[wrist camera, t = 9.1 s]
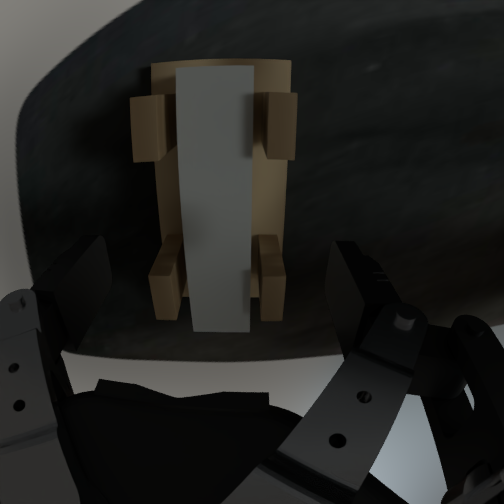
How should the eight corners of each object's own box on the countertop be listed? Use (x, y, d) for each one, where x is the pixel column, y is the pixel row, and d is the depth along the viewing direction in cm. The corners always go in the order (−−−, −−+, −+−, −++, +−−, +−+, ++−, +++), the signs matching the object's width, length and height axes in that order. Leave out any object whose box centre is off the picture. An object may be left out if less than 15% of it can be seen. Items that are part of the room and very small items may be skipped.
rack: (288, 61, 17) (308, 50, 11) (277, 289, 24) (286, 345, 19) (155, 64, 16) (120, 56, 11) (171, 288, 24) (155, 343, 19)
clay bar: (251, 71, 16) (254, 65, 12) (248, 294, 23) (249, 332, 20) (189, 72, 16) (175, 68, 12) (200, 294, 23) (193, 331, 20)
